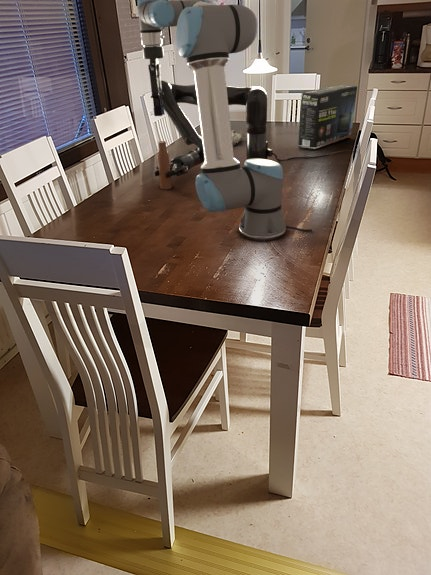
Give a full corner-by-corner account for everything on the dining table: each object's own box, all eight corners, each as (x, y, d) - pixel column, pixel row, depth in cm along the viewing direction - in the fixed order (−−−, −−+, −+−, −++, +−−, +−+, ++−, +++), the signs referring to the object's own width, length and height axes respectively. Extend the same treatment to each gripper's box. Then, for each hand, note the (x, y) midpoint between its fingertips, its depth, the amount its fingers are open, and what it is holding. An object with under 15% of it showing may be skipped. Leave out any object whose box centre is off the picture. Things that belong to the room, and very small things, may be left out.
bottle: (159, 189, 190) (155, 143, 180) (161, 185, 194) (156, 140, 184) (171, 189, 190) (167, 143, 180) (172, 185, 194) (168, 140, 184)
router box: (314, 151, 231) (318, 94, 217) (296, 148, 237) (299, 92, 224) (352, 138, 251) (358, 85, 238) (335, 135, 258) (340, 83, 245)
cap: (163, 112, 178) (162, 106, 177) (165, 114, 175) (165, 108, 174) (152, 114, 177) (151, 107, 176) (154, 115, 174) (153, 109, 173)
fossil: (235, 140, 241) (216, 121, 244) (224, 157, 247) (206, 139, 251) (251, 138, 254) (233, 121, 258) (241, 154, 261) (223, 138, 264)
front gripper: (160, 47, 156) (166, 118, 168) (165, 44, 171) (170, 110, 183) (138, 48, 157) (146, 119, 169) (145, 45, 171) (152, 110, 183)
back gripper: (167, 153, 200) (145, 163, 187) (196, 156, 194) (175, 167, 182) (169, 170, 204) (147, 181, 191) (197, 173, 198) (176, 185, 185)
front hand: (159, 114), depth 176 cm, fingers closed on cap, 4 cm apart
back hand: (161, 174), depth 186 cm, fingers closed on bottle, 4 cm apart
